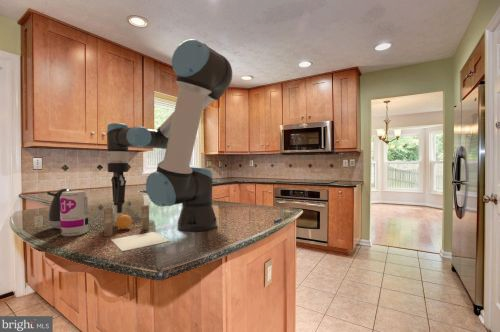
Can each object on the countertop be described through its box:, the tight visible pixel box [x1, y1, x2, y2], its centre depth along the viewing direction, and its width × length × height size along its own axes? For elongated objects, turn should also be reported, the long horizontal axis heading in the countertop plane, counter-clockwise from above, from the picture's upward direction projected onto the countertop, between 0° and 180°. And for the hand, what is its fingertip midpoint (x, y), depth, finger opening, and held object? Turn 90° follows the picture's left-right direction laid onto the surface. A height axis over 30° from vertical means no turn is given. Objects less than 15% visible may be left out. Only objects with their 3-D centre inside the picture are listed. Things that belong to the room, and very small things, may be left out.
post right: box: [141, 204, 150, 231], centre depth 96 cm, size 3×3×9 cm
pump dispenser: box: [46, 188, 72, 230], centre depth 98 cm, size 10×10×15 cm
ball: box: [115, 213, 133, 230], centre depth 96 cm, size 6×6×6 cm
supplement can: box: [59, 190, 89, 237], centre depth 90 cm, size 8×8×15 cm
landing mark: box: [110, 231, 170, 252], centre depth 82 cm, size 14×14×1 cm
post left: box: [103, 208, 114, 237], centre depth 88 cm, size 3×3×9 cm
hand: (118, 220), depth 102 cm, fingers closed
